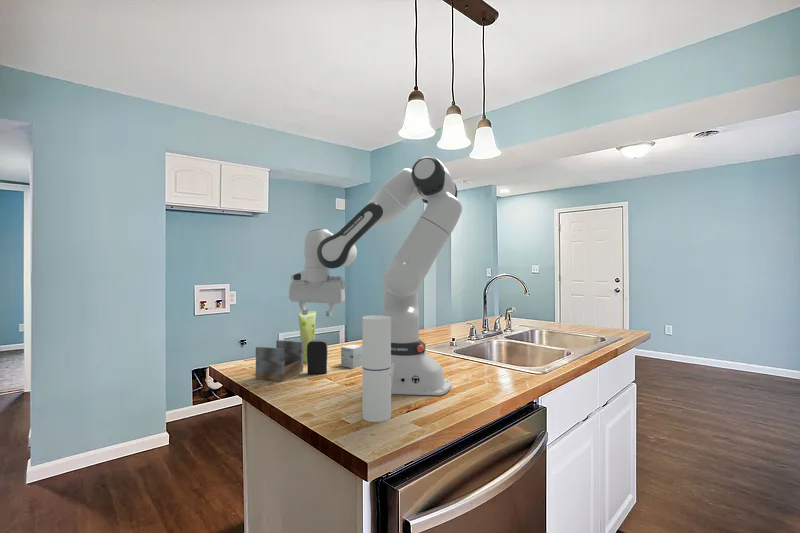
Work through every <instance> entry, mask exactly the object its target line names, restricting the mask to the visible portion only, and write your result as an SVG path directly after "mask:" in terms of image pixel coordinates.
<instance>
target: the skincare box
mask: <svg viewBox="0 0 800 533" xmlns="http://www.w3.org/2000/svg"><path fill="white" fill-rule="evenodd" d="M340 351H341V352H340V366H341V367H342V368H343V367H344V368H348V367H349V368H348V369H352V368H353V369H356V367H357V368H359V367H361V366H362V345H359V344H347V345H344V346H343V345H342V346H341V347H340Z"/></svg>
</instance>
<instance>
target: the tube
mask: <svg viewBox="0 0 800 533" xmlns="http://www.w3.org/2000/svg"><path fill="white" fill-rule="evenodd" d="M297 317H298V325H299V335H300V337H299V338H300V340H299V341H302V342H303V364H307V344H308V343H309V342H310V341H311V340H316V339H315V338H316V322H317V321H316V319H317V318H316V317H317V310H313V311H312V310H310V311H308V314H307V315H302V311H301V312H298V313H297Z"/></svg>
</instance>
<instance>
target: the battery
mask: <svg viewBox="0 0 800 533" xmlns="http://www.w3.org/2000/svg"><path fill="white" fill-rule="evenodd" d="M306 365H307V370H306V372H307V374H310V375H316V374H317V375H320V374H327V373H328V342H327V340H324V339H315V340H311V341H310V342H309V343H308V344H307V363H306Z"/></svg>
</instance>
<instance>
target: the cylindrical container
mask: <svg viewBox="0 0 800 533" xmlns="http://www.w3.org/2000/svg"><path fill="white" fill-rule="evenodd" d="M361 318H362V319H361V320H362V323H361V324H362V325H361V326H362V327H361V330H362V332H361V333H362V334H361V336H362V338H361V339H362V340H361V341H362V342H361V346H362V367H361V368H362V418H363V420H364V421H367V422H369V423H383V422H386V421H388V420H390V419H391V417H392V394H391V317H390V316H384V314H383V315H381V314H378V315H377V314H376V315H375V314H373V315H364V316H362V317H361Z"/></svg>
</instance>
